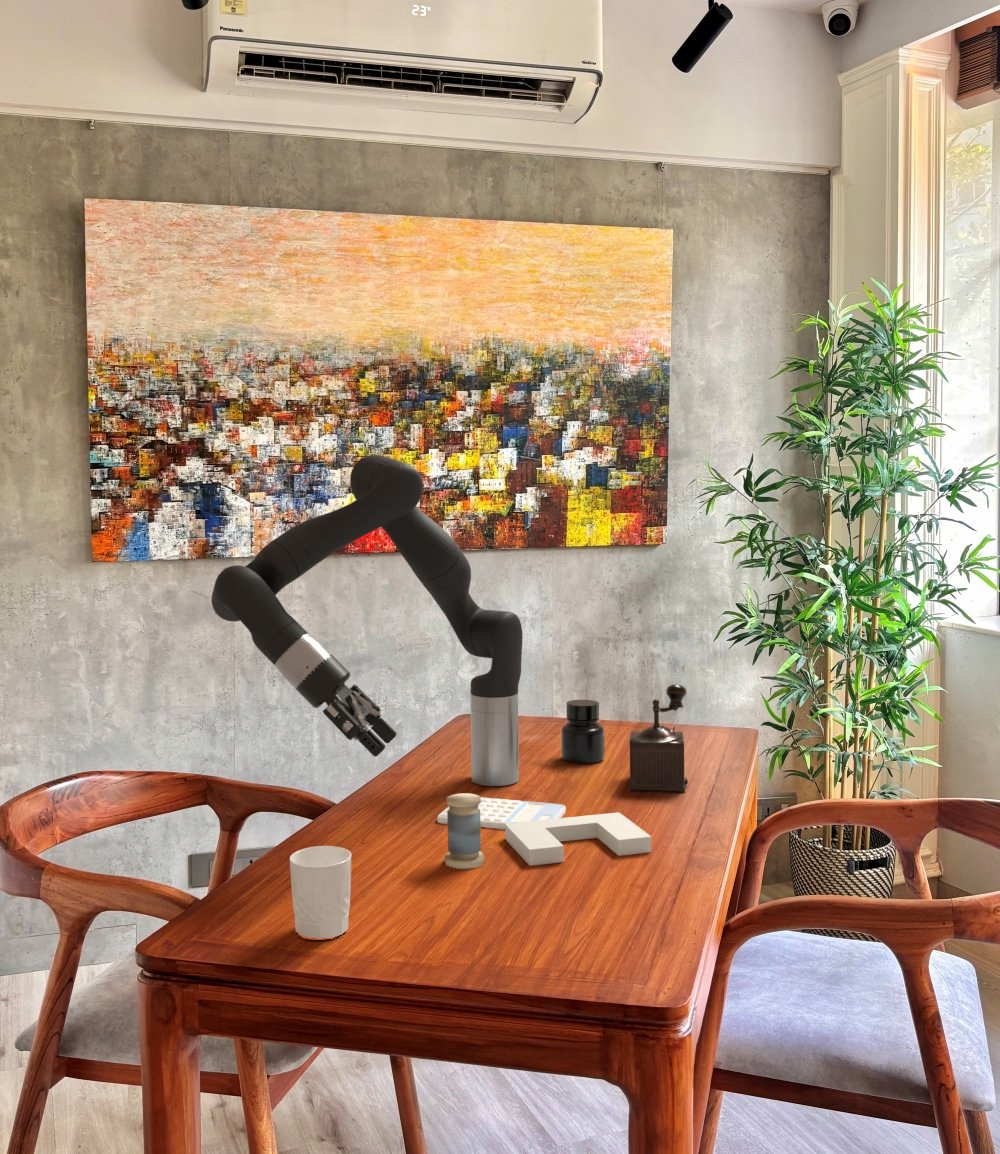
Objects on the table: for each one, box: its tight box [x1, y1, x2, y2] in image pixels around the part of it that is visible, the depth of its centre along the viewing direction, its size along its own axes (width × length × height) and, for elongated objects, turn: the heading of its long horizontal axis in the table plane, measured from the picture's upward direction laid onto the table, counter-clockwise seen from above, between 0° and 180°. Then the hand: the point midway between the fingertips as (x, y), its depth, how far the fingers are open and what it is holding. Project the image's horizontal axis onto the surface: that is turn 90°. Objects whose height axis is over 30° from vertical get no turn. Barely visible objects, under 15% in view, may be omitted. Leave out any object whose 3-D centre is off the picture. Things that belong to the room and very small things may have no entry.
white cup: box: [289, 845, 353, 939], centre depth 139 cm, size 8×8×10 cm
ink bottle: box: [560, 699, 605, 765], centre depth 225 cm, size 10×9×12 cm
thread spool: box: [444, 793, 485, 870], centre depth 164 cm, size 6×6×10 cm
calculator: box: [436, 796, 567, 830], centre depth 187 cm, size 13×20×2 cm, turn 73°
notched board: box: [504, 811, 652, 867], centre depth 172 cm, size 13×20×2 cm, turn 106°
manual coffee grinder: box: [629, 684, 689, 794], centre depth 208 cm, size 16×11×18 cm
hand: (387, 745), depth 164 cm, fingers open, 8 cm apart
